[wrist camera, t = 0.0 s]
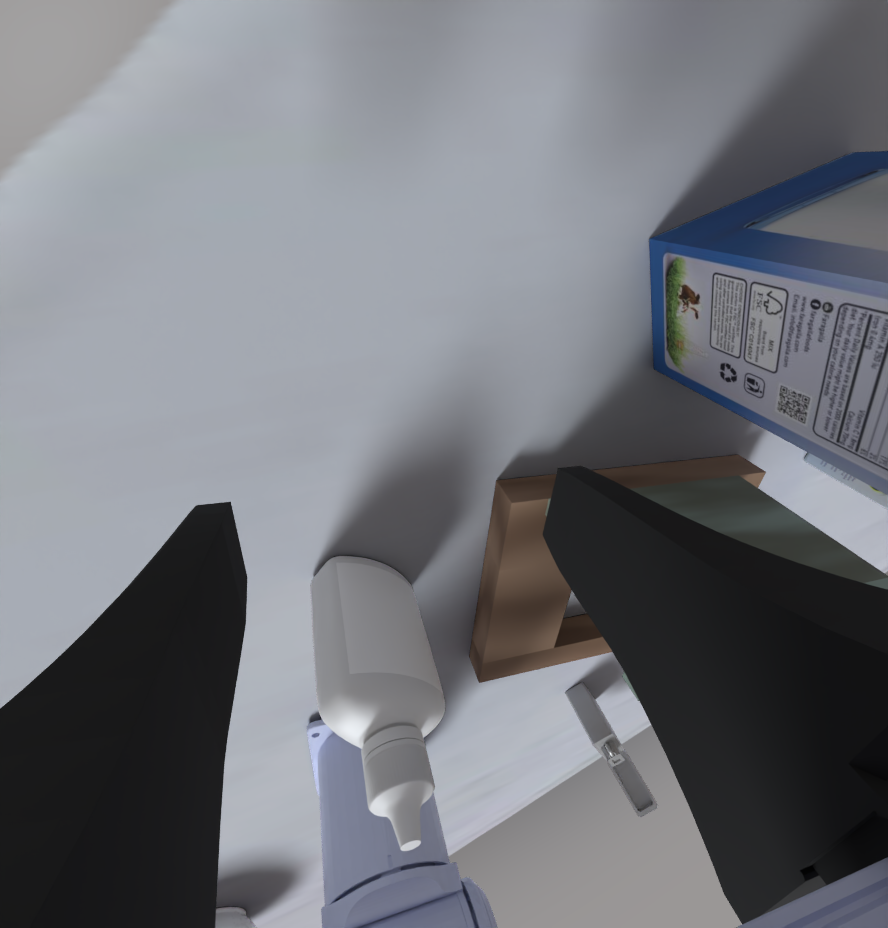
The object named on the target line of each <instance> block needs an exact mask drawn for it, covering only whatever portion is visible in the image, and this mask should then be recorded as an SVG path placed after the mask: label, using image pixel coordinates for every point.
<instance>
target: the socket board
mask: <svg viewBox="0 0 888 928" xmlns="http://www.w3.org/2000/svg"><path fill="white" fill-rule="evenodd" d="M592 471H594V472H596V473H598V474H601V475H603V476H605V477H607V478H609V479H611V480H613V481H615V482H617V483H619V484H621V485H623V486H625V487H627V488H629V489H631V490H633V491H635V492H636V493H638V494H640V495H642V496H644V497H646V498H648V499H650V500H652V501H654V502H656V503H658V504H660V505H662V506H664V507H666V508H668V509H670V510H672V511H674V512H676V513H678V514H680V515H683V516H685V517H687V518H689V519H691V520H693V521H695V522H697V523H700V524H702V525H704V526H706V527H708V528H711V529H713V530H715V531H717V532H719V533H722V534H724V535H727V536H729V537H731V538H734V539H736V540H738V541H741V542H744V543H746V544H749V545H751V546H754V547H757V548H759V549H762V550H764V551H767V552H769V553H772V554H775V555H777V556H780V557H783V558H786V559H789V560H792V561H795V562H797V563H800V564H804V565H807V566H810V567H813V568H816V569H819V570H822V571H825V572H828V573H832V574H835V575H838V576H841V577H845V578H848V579H851V580H855V581H858V582H862V583H865V584H869V585H873V586H876V587H880V588H884V589H888V576H887V575H886V574H884V573H883V572H881V571H880V570H878V569H877V568H875V567H874V566H872V565H871V564H869V563H868V562H866V561H865V560H863V559H862V558H860V557H859V556H858V555H856V554H855V553H853V552H852V551H850V550H849V549H847V548H846V547H844V546H843V545H841V544H840V543H838V542H837V541H835V540H834V539H832V538H831V537H829V536H828V535H826V534H825V533H823V532H822V531H820V530H819V529H818V528H816V527H815V526H813V525H812V524H810V523H809V522H807V521H806V520H804V519H803V518H801V517H800V516H798V515H797V514H795V513H794V512H792V511H791V510H789V509H788V508H786V507H785V506H783V505H782V504H781V503H779V502H778V501H776V500H775V499H773V498H772V497H770V496H769V495H767V494H766V493H764V492H763V491H761V490H760V489H758V487H759V485H760V483H761V481H762V479H763V477H764V475H765V473H766V472H765V471H764V470H762V469H760V468H759V467H757V466H756V465H754V464H752V463H751V462H749V461H748V460H746V459H744V458H743V457H741V456H740V455H731V456H721V457H712V458H702V459H693V460H684V461H674V462H665V463H655V464H646V465H637V466H627V467H618V468H608V469H599V470H592ZM555 479H556V474H552V475H543V476H533V477H524V478H514V479H505V480H496V486H495V493H494V499H493V506H492V512H491V519H490V525H489V532H488V538H487V545H486V551H485V558H484V564H483V571H482V577H481V583H480V590H479V596H478V603H477V609H476V616H475V622H474V629H473V635H472V642H471V648H470V655H469V657H470V660H471V662H472V665H473V668H474V670H475V673H476V676H477V679H478V681H479V683H481V682H485V681H489V680H493V679H498V678H502V677H506V676H511V675H515V674H519V673H523V672H528V671H532V670H536V669H541V668H545V667H549V666H554V665H558V664H562V663H566V662H571V661H575V660H579V659H584V658H588V657H592V656H596V655H601V654H605V653H609V652H612V650H611V649H610V647H609V645H608V644H607V642H606V641H605V639H604V638H603V636H602V635H601V633H600V632H599V630H598V629H597V627H596V626H595V624H594V623H593V621H592V620H591V618H590V617H589V615H588V614H584V615H579V616H575V617H570V618H565V619H563V616H564V613H565V610H566V607H567V603H568V600H569V597H570V593H571V588H570V586H569V585H568V583H567V582H566V580H565V579H564V577H563V576H562V574H561V572H560V571H559V569H558V567H557V565H556V563H555V561H554V559H553V557H552V555H551V553H550V550H549V548H548V546H547V544H546V542H545V539H544V537H543V535H542V534H543V530H544V525H545V521H546V517H547V513H548V508H549V504H550V500H551V496H552V491H553V487H554V483H555ZM622 677H623V678H624V680H625V681H626V683H627V684H628V686H629V687H630V689H631V691H632V692H633V694H634V695H635V697H636V698H637V700H638V701H639V699H638V697H637V695H636V693H635V691H634V689H633V687H632V685H631V684H630V682H629V680H628V678H627V676H626V674H625V672H624V673H623V675H622Z"/></svg>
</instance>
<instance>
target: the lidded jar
mask: <svg viewBox="0 0 888 928" xmlns="http://www.w3.org/2000/svg"><path fill="white" fill-rule="evenodd" d="M215 928H257V927H256V925H255V924H254V923H253V922H252V921H251V920H250V919H249V918H248V917H247V916H246V911H245V910H244V909H243V908H240V907H222V908H216V921H215Z"/></svg>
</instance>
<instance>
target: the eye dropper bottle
mask: <svg viewBox="0 0 888 928" xmlns="http://www.w3.org/2000/svg"><path fill="white" fill-rule="evenodd" d="M310 593H311V612H312V631H313V649H314V666H315V682H316V695H317V705H318V710H319V714H320V716H321V718H322V720H323V722H324V723H325V724H326V725H327V726H328V727H329V728H330V729H331V730H332V731H333V732H335V733H336V734H337V735H338V736H340V737H341V738H343V739H344V740H346V741H348V742H349V743H351V744H353V745H355V746H357V747H359V748H361V749H362V750H361V755H362V763H363V771H364V779H365V787H366V795H367V803H368V809H369V810H370V812H372V813H373V814H374V815H377V816H381V817H388V818H389V819H390V821H391V823H392V825H393V828H394V831H395V834H396V837H397V840H398V843H399V846H400V849H401V850H402V851H409V850H412V849H414V848H416V847H418V846H419V845H420V844H421V829H420V809H421V806H422V804H424V803H425V802H426V801H427V800H428V799H429V798H430V797H431V795H432V793H433V791H434V788H435V785H434V780H433V776H432V772H431V768H430V764H429V759H428V755H427V751H426V747H425V743H424V737H425V736H427V735H428V734H429V733H430V732H431V731H432V730H433V729H434V728H435V727H436V726H437V725H438V724H439V722H440V721H441V719H442V717H443V715H444V713H445V700H444V694H443V690H442V687H441V683H440V679H439V676H438V672H437V669H436V665H435V662H434V658H433V655H432V651H431V648H430V645H429V641H428V638H427V634H426V631H425V628H424V624H423V621H422V618H421V614H420V611H419V607H418V604H417V601H416V597H415V594H414V591H413V588H412V586H411V584H410V583H409V582H408V581H407V579H406V578H405V577H404V576H402V575H401V574H400V573H399V572H397V571H396V570H394V569H393V568H391V567H390V566H388V565H386V564H383V563H381V562H378V561H375V560H371V559H367V558H362V557H354V556H337V557H333V558H331V559H330V560H328V561H327V562H326V563H325V564H324V566H323V567H322V568H321V569H320V571H319V572H318V573H317V574H316V576H315V577H314V578H313V580H312V582H311V585H310Z"/></svg>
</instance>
